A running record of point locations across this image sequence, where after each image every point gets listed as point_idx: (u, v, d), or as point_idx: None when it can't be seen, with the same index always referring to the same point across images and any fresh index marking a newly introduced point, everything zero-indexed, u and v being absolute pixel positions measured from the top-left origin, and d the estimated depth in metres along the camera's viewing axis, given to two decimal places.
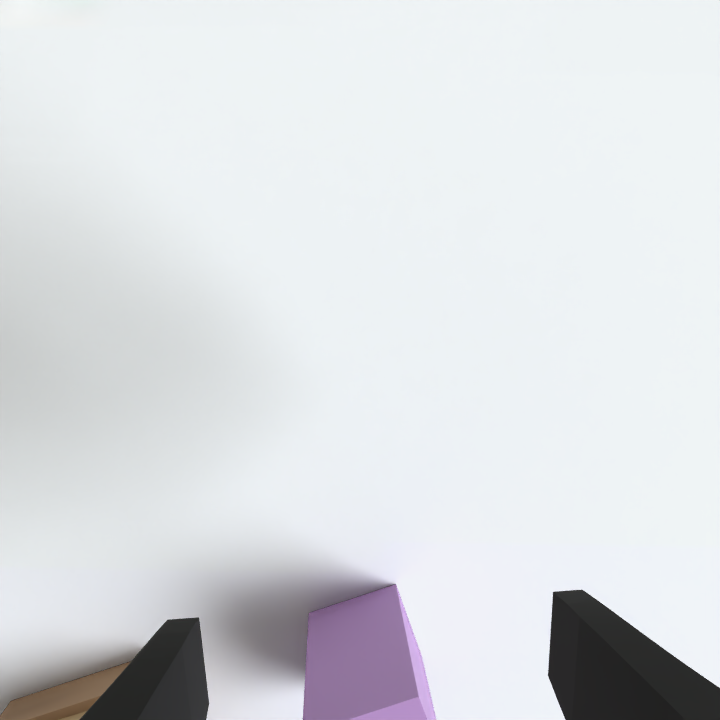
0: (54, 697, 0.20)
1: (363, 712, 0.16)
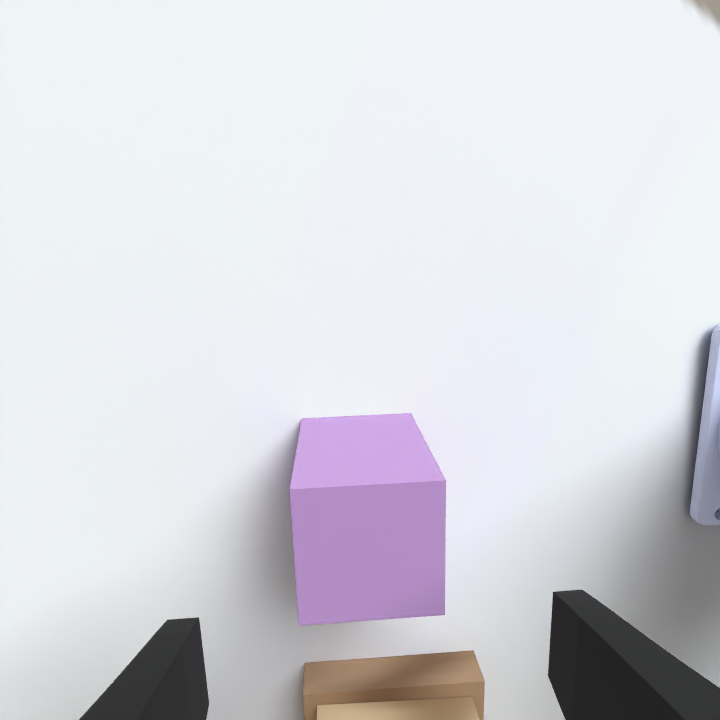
0: None
1: (294, 553, 0.13)
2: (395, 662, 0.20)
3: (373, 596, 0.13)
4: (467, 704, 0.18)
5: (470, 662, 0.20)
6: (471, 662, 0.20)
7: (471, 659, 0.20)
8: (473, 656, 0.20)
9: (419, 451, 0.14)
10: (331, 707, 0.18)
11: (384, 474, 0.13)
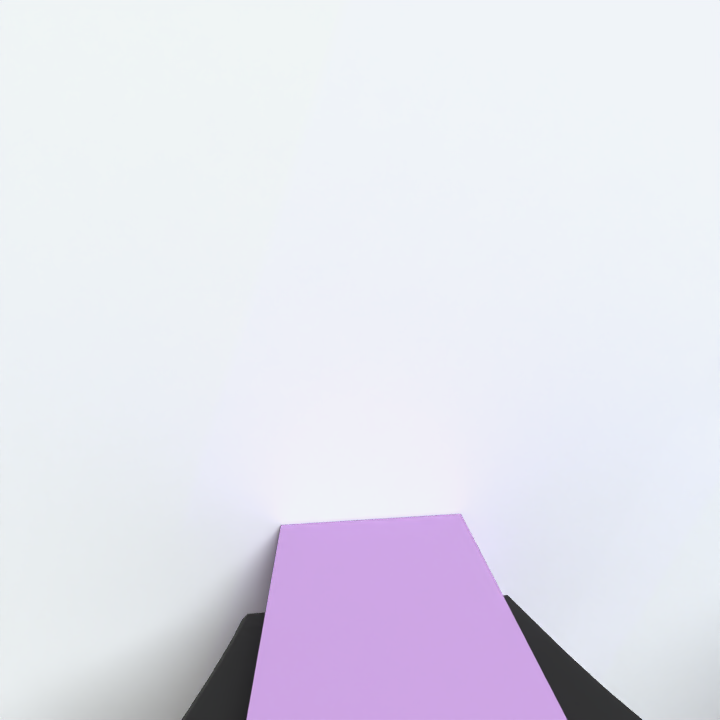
0: None
1: None
2: None
3: None
4: None
5: None
6: None
7: None
8: None
9: (502, 638, 0.07)
10: None
11: None
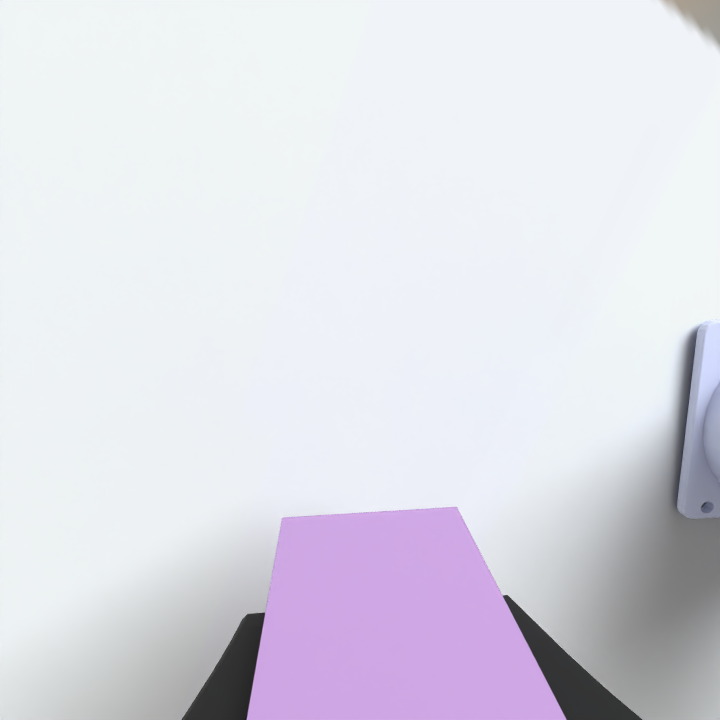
0: None
1: None
2: None
3: None
4: None
5: None
6: None
7: None
8: None
9: (495, 622, 0.08)
10: None
11: (440, 709, 0.06)
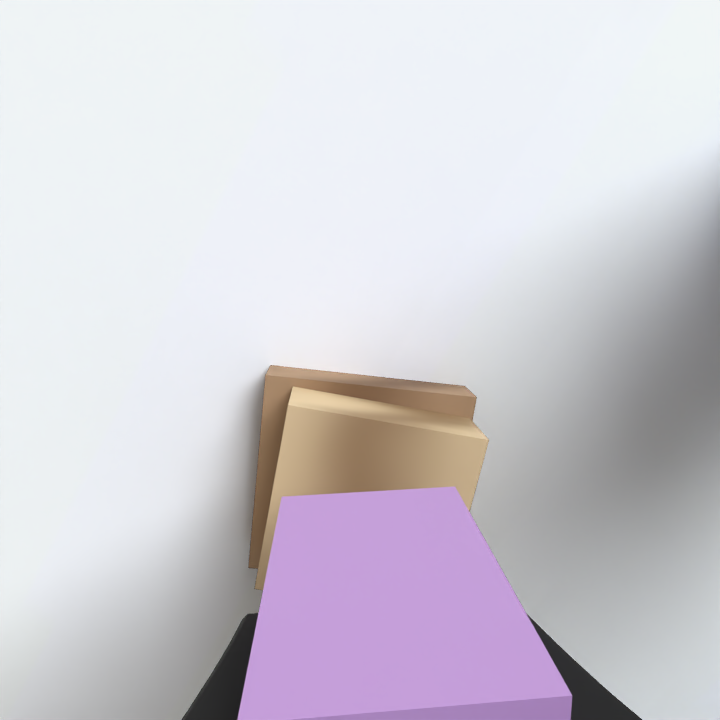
0: None
1: None
2: (375, 378, 0.17)
3: None
4: (464, 419, 0.16)
5: (461, 389, 0.17)
6: (462, 389, 0.17)
7: (461, 388, 0.17)
8: (464, 387, 0.17)
9: (492, 590, 0.08)
10: (308, 394, 0.16)
11: (437, 668, 0.06)
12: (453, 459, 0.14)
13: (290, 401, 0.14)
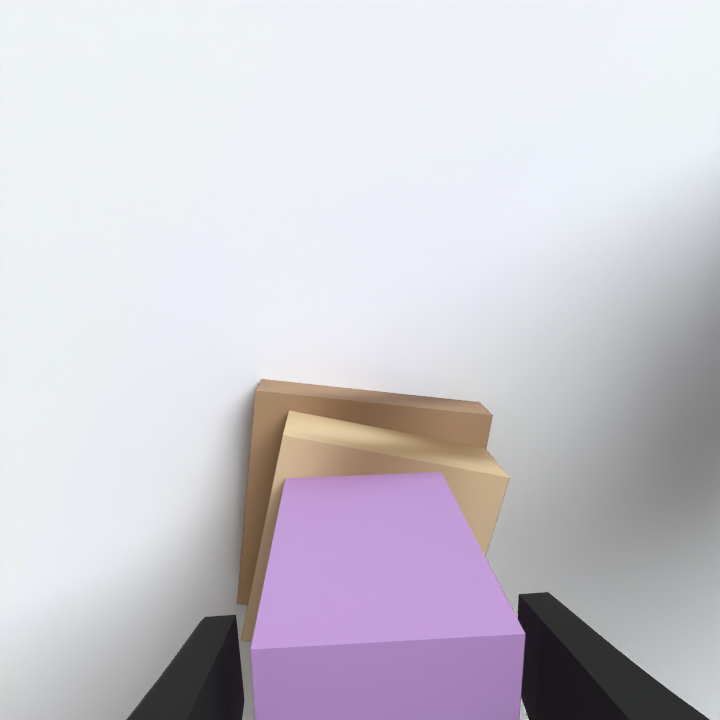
0: None
1: None
2: (379, 392, 0.15)
3: None
4: (479, 450, 0.14)
5: (474, 405, 0.15)
6: (475, 405, 0.15)
7: (474, 403, 0.15)
8: (477, 402, 0.15)
9: (467, 555, 0.09)
10: None
11: (416, 613, 0.08)
12: (468, 498, 0.13)
13: (285, 430, 0.12)
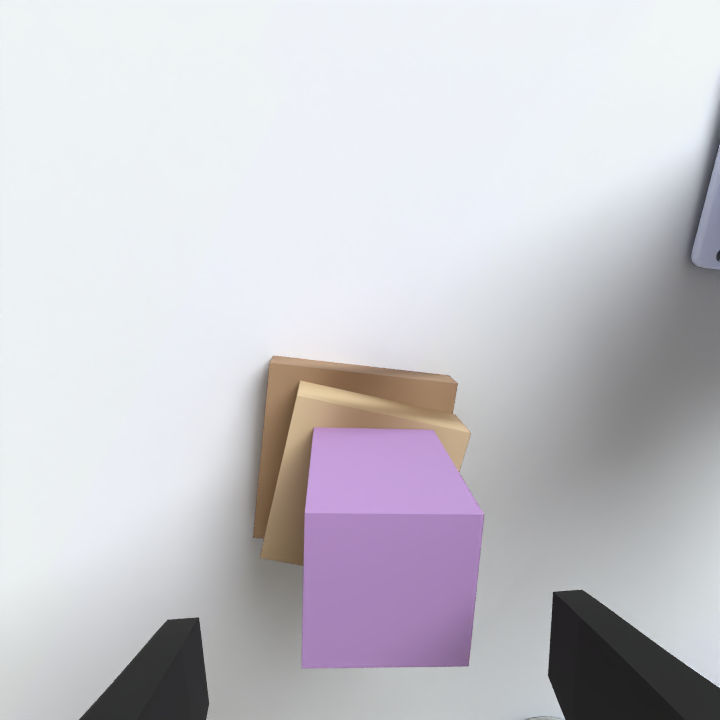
0: None
1: (303, 585, 0.11)
2: (367, 367, 0.19)
3: (389, 640, 0.11)
4: (450, 415, 0.18)
5: (444, 377, 0.19)
6: (445, 377, 0.19)
7: (445, 376, 0.19)
8: (447, 375, 0.19)
9: (449, 476, 0.13)
10: None
11: (412, 502, 0.11)
12: None
13: (298, 392, 0.16)
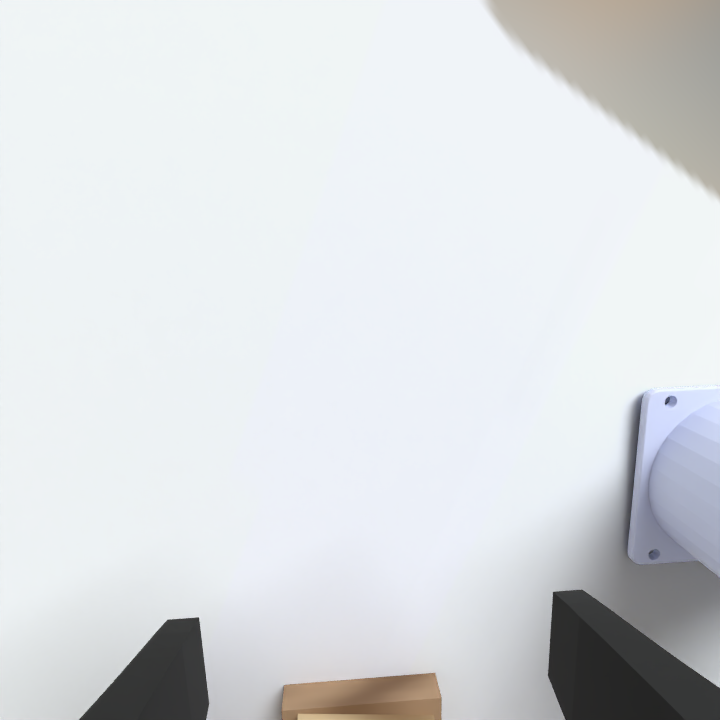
0: None
1: None
2: (364, 681, 0.22)
3: None
4: None
5: (430, 680, 0.22)
6: (431, 680, 0.22)
7: (431, 678, 0.22)
8: (433, 675, 0.22)
9: None
10: (309, 716, 0.21)
11: None
12: None
13: None
